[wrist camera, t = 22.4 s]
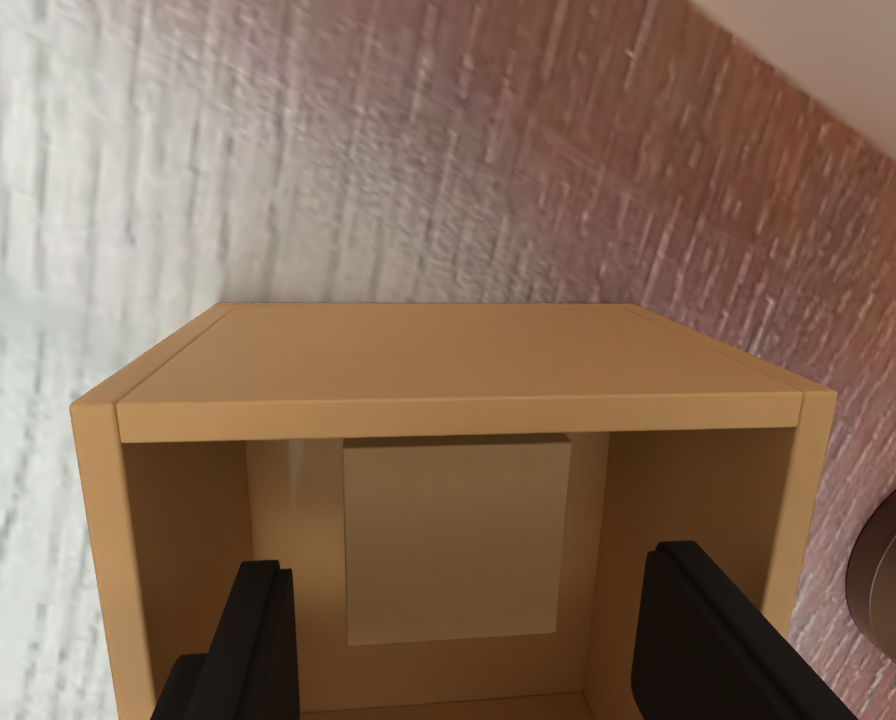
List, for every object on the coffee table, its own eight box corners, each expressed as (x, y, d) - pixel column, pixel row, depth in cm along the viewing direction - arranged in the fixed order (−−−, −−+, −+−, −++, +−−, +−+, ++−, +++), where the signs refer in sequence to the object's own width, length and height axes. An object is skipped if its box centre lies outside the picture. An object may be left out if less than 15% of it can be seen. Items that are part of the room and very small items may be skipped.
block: (351, 377, 15) (341, 448, 11) (520, 375, 16) (573, 442, 12) (354, 530, 17) (346, 647, 12) (511, 523, 17) (556, 634, 13)
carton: (216, 302, 15) (65, 404, 8) (635, 303, 16) (841, 391, 9) (250, 715, 19) (170, 1050, 11) (592, 689, 20) (716, 974, 13)
